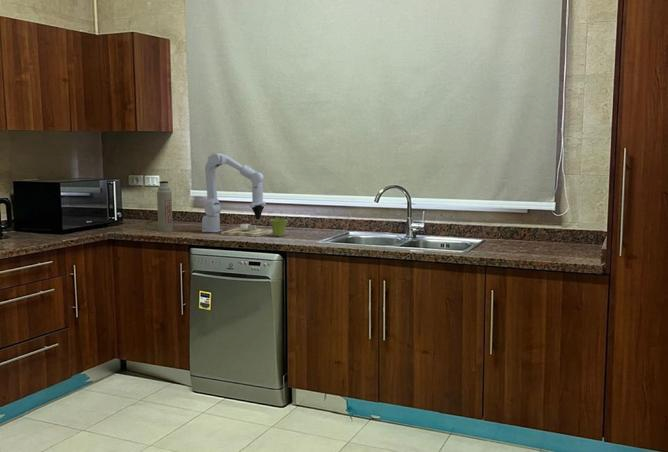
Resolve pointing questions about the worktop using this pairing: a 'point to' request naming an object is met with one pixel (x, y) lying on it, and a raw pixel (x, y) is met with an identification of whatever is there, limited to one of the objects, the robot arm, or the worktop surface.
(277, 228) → the plant pot
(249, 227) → the cream cap
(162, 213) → the thermos bottle
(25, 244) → the worktop surface
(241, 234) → the birch board
